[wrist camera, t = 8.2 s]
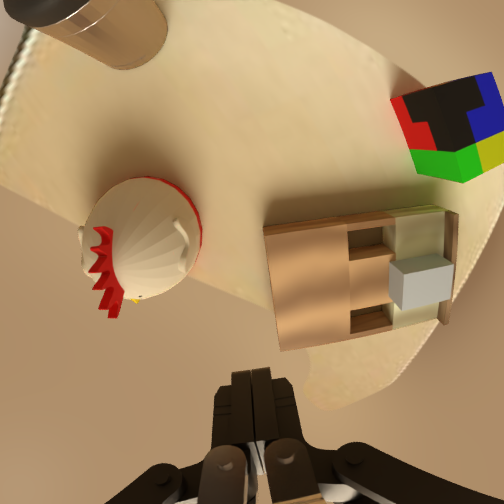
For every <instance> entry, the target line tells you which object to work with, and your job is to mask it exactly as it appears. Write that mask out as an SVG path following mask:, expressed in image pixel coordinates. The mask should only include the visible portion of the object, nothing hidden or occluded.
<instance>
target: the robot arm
mask: <svg viewBox="0 0 504 504" xmlns="http://www.w3.org/2000/svg"><path fill="white" fill-rule="evenodd" d="M3 2H4V7H5V10H6V12H7V13H8V14H9V15H10V17H11V18H13V19H15V20H16V21H18V22H20V23H23V24H25V25H27V26H30V27H32V28H34V29H36V30H38V31H40V32H43V33H45V34H47V35H49V36H51V37H53V38H56V39H58V40H60V41H62V42H64V43H66V44H68V45H70V46H72V47H74V48H76V49H78V50H80V51H81V52H83V53H85V54H87V55H89V56H91V57H93V58H95V59H97V60H98V61H100V62H102V63H104V64H106V65H108V66H110V67H112V68H114V69H119V70H127V69H132V68H136V67H138V66H141V65H143V64H144V63H146V62H148V61H149V60H150V59H152V58H153V57H154V56H155V55H156V54H157V53H158V52H159V50H160V49H161V47H162V46H163V44H164V42H165V39H166V36H167V22H166V20H165V18H164V16H163V14H162V13H161V11H160V10H159V8H158V7H157V5H156V4H155V2H154V1H153V0H3ZM251 372H252V374H251ZM231 377H232V378H231V380H232V381H231V385H228V386H220V388H219V389H218V391H217V393H216V394H215V396H214V411H213V416H214V417H213V427H212V444H211V450H210V451H209V452H208V454H207V455H206V456H205V458H204V460H203V461H201V462H199V463H197V464H195V465H192V466H188V467H185V468H181V469H178V468H177V467H176V466H174V465H171V464H167V463H161V464H157V465H154V466H152V467H150V468H149V469H148V470H147V471H146V472H144V473H143V474H142V475H140V476H139V477H138V478H137V479H136V480H134V481H133V482H132V483H131V484H129V485H128V486H127V487H126V488H124V489H123V490H122V491H121V492H120V493H118V494H117V495H115V496H114V497H113V498H112V499H110V500H109V501H108V502H106V503H105V504H258V481H257V475H263V474H264V472H263V467H264V471H265V474H267V478H268V484H269V489H270V494H271V499H272V504H326V501H330V502H333V503H334V504H504V500H501V499H498V498H494V497H491V496H488V495H485V494H482V493H479V492H477V491H473V490H471V489H468V488H465V487H462V486H460V485H457V484H455V483H452V482H450V481H447V480H445V479H442V478H439V477H437V476H435V475H432V474H430V473H428V472H425V471H423V470H421V469H418V468H416V467H414V466H412V465H409V464H407V463H405V462H403V461H401V460H399V459H397V458H394V457H392V456H390V455H388V454H386V453H384V452H382V451H380V450H378V449H375V448H374V447H372V446H370V445H368V444H366V443H362V442H351V443H347V444H345V445H343V446H341V447H340V448H339V449H338V450H323V449H317V448H315V447H312V446H311V445H309V444H308V443H307V442H306V441H305V439H304V437H303V434H302V429H301V425H300V420H299V415H298V410H297V406H296V401H295V397H294V391H293V387H292V385H291V384H290V382H289V381H288V380H287V379H286V378H278V379H272V377H271V371H270V367H266V368H259V369H252V370H251V371H250V370H246V371H238V372H232V375H231Z"/></svg>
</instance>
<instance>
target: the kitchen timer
mask: <svg viewBox="0 0 504 504" xmlns="http://www.w3.org/2000/svg"><path fill="white" fill-rule="evenodd" d="M78 237H79V241H80V245H81V251H82V260H81V264H82V269H83V271H84V273H85V274H86V275H87V276H88V277H92V278H93V280H94V281H95V282H96V284H95V285H94V287H93V289H92V290H105V293H104V295H103V298H102V300H101V303H100V305H99V308H98V309H99V310H108V309H109V313H108V318H117V317H118V315H119V312H120V308H121V304H122V300H123V298H125V299H131V300H132V301H134V302H135V303H138V302H139V300H140V299H146V298H149V297H152V296H155V295H158V294H161V293H163V292H165V291H167V290H169V289H170V288H172V287H173V286H175V285H176V284H177V283H179V282H180V281H181V280H183V279H184V277H185V276H186V275H187V274H188V272H189V271H190V270H191V268H192V267H193V266H194V264H195V262H196V260H197V257H198V254H199V251H200V248H201V245H202V226H201V222H200V218H199V214H198V212H197V210H196V208H195V206H194V205H193V203H192V201H191V199H190V198H189V197H188V196H187V195H186V194H185V193H184V192H183V191H182V190H181V189H180V188H179V187H177V186H176V185H174V184H172V183H170V182H168V181H166V180H164V179H160V178H155V177H149V176H146V177H138V178H132V179H128V180H126V181H124V182H122V183H120V184H117V185H115V186H113V187H112V188H111V189H110V190H109V191H107V192H106V193H105V194H104V195H103V196H102V197H101V198H100V199H99V200H98V202H97V203H96V205H95V206H94V208H93V210H92V212H91V214H90V216H89V217H88V219H87V221H86V223H85V227H84V226H80V227H79V229H78Z"/></svg>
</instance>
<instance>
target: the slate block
mask: <svg viewBox="0 0 504 504" xmlns="http://www.w3.org/2000/svg"><path fill="white" fill-rule="evenodd" d="M453 270H454V264H453V263H451V262H450V261H448V260H447V259H445V258H444V257H442V256H441V255H439V254H437V253H435V254H430V255H425V256H419V257H414V258H408V259H403V260H397V261H391V262H389V294H388V296H389V297H390V298H391V299H392V301H393V302H394V303H395V304H396V305H397V306H398V307H399V309H400V310H401V311H404V310H409V309H413V308H417V307H421V306H425V305H429V304H433V303H437V302H441V301H445V300H448V299H450V297H451V289H452V280H453Z"/></svg>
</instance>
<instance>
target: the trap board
mask: <svg viewBox="0 0 504 504" xmlns="http://www.w3.org/2000/svg"><path fill="white" fill-rule="evenodd" d="M458 218H459V214H457V213H455V212H452V211H449V210H447V209H444V208H441V207H439V206H436V205H425V206H416V207H408V208H400V209H391V210H383V211H376V212H368V213H360V214H352V215H345V216H337V217H330V218H323V219H315V220H308V221H301V222H294V223H287V224H280V225H273V226H266V227H263V232H264V239H265V246H266V253H267V260H268V267H269V275H270V282H271V289H272V296H273V303H274V311H275V318H276V325H277V333H278V339H279V345H280V351H281V352H282V351H289V350H295V349H301V348H307V347H313V346H319V345H324V344H330V343H335V342H340V341H345V340H350V339H355V338H359V337H364V336H369V335H373V334H378V333H382V332H386V331H390V330H395V329H399V328H403V327H407V326H411V325H414V324H418V323H422V322H426V321H429V320H433V319H436V318H437V319H438V320H439V321H440V322H441V323H442V324H443V325H447V324H448V323H449V317H450V311H451V304H452V297H453V289H454V280H455V270H456V259H457V244H458ZM381 226H382V230H383V244H377V245H370V246H364V247H358V248H351V249H348V235H347V231H353V230H360V229H367V228H374V227H381ZM435 253H437V254H439V255H441V256H442V257H444V258H445V259H447V260H448V261H450V262H451V263H453V264H454V270H453V280H452V289H451V297H450V299H448V300H445V301H441V302H437V303H433V304H429V305H425V306H421V307H417V308H413V309H409V310H404V311H401V310H400V309H399V307H398V306H397V305H396V304H395V303H394V302H393V301H392V299H391V298H390V297H389V296H388V294H389V262H391V261H397V260H403V259H408V258H414V257H419V256H425V255H430V254H435ZM381 304H382V311H378V312H374V313H369V314H364V315H359V316H354V317H350V311H351V310H356V309H361V308H366V307H371V306H376V305H381Z"/></svg>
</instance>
